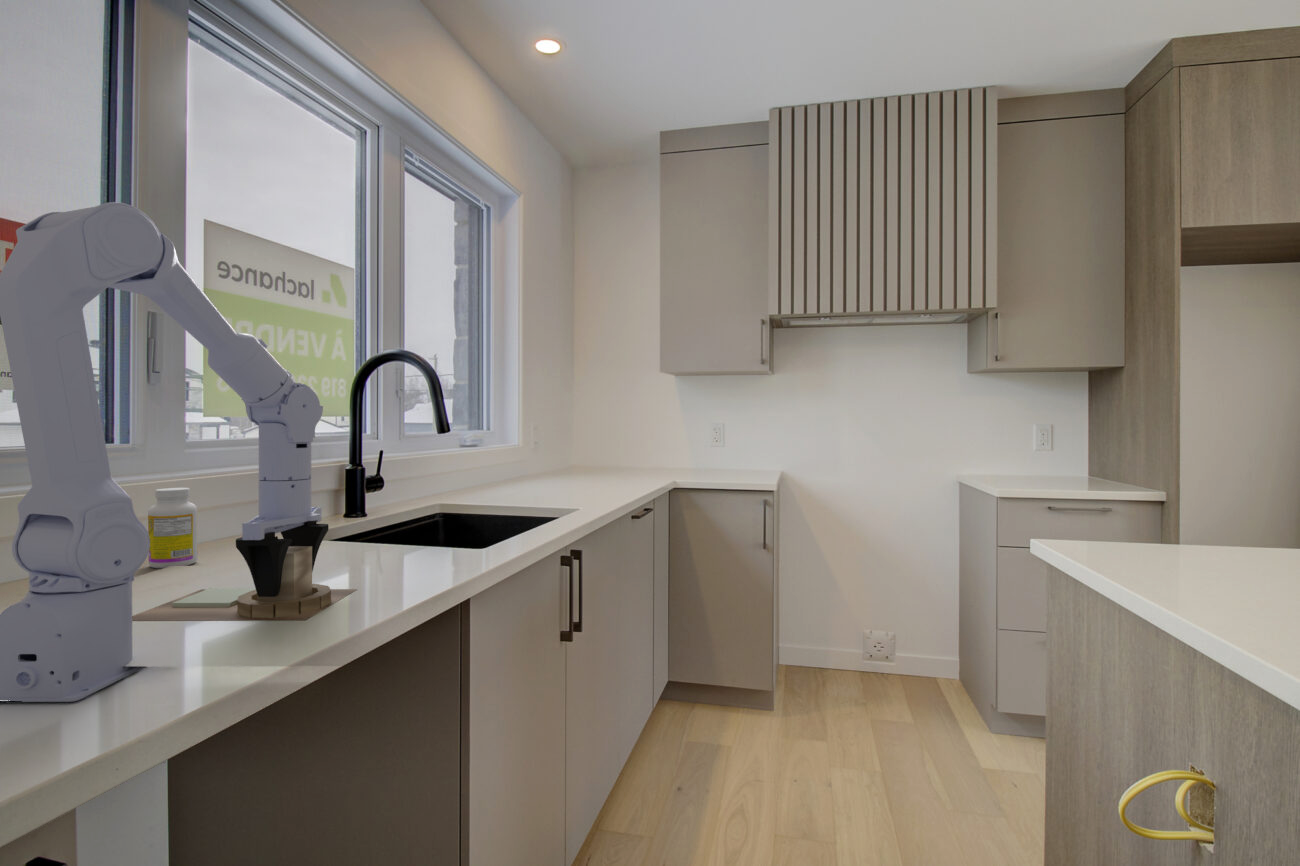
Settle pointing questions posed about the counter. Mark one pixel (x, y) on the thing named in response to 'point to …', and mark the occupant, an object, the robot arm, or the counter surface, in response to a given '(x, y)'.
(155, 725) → the counter surface
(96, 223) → the robot arm
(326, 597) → the base board
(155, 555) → the supplement bottle
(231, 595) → the sage pad
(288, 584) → the peg
